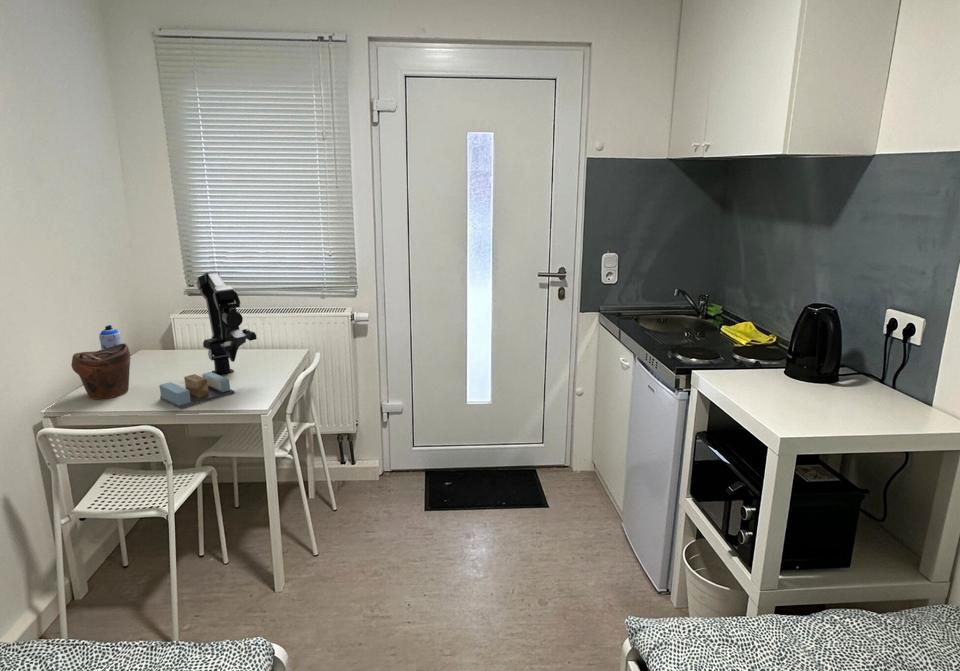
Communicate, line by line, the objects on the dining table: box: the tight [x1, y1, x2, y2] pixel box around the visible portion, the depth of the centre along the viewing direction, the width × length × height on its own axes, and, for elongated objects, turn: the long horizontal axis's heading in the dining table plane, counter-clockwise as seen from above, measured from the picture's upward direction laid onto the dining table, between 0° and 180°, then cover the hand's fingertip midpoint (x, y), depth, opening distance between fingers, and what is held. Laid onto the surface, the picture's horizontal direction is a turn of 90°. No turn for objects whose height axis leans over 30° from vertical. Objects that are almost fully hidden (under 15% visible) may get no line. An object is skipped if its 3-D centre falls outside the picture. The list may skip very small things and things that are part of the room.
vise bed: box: [159, 386, 235, 410], centre depth 230 cm, size 16×20×1 cm
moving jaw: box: [201, 371, 231, 392], centre depth 235 cm, size 14×3×4 cm, turn 50°
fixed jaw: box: [158, 381, 190, 406], centre depth 223 cm, size 14×4×4 cm, turn 50°
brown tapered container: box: [71, 342, 132, 400], centre depth 231 cm, size 18×20×18 cm
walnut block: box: [183, 373, 209, 398], centre depth 229 cm, size 4×9×6 cm, turn 50°
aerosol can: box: [99, 324, 123, 350], centre depth 255 cm, size 8×8×20 cm
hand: (232, 361), depth 239 cm, fingers closed
